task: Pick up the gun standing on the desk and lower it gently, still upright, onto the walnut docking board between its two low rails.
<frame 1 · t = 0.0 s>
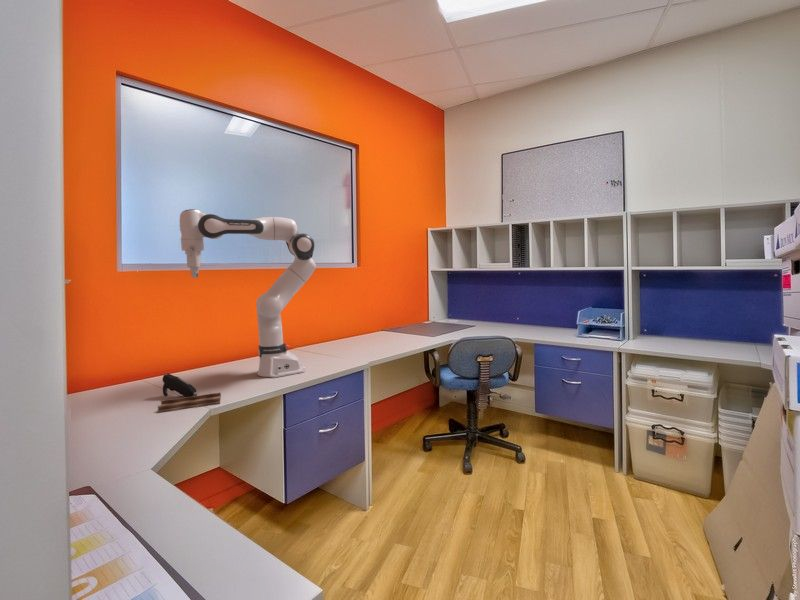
hand: (195, 277, 176), 48 cm above the table, tool pointing down, fingers open, 8 cm apart
walnut stand: (191, 403, 152), on the table
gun: (180, 397, 161), on the table
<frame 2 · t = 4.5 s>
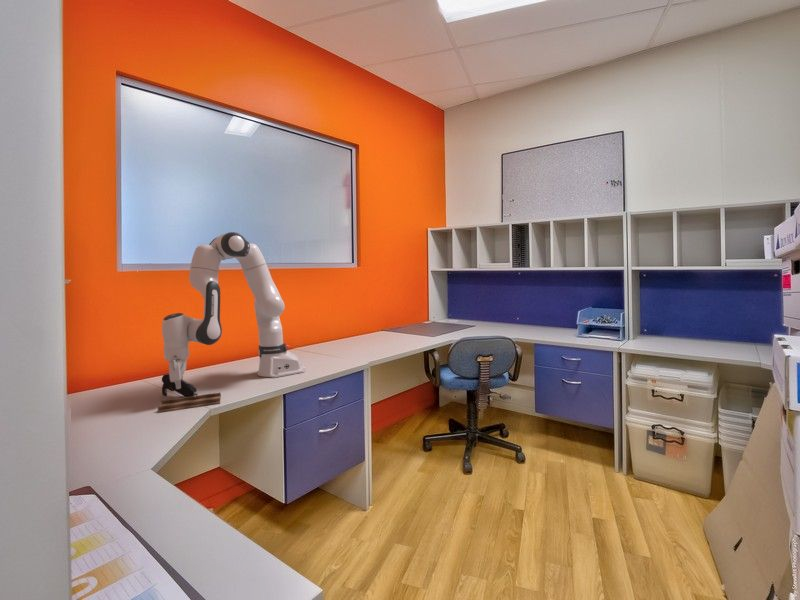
hand: (179, 386, 161), 4 cm above the table, tool pointing down, fingers closed on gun, 4 cm apart
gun: (180, 397, 161), on the table, touching gripper
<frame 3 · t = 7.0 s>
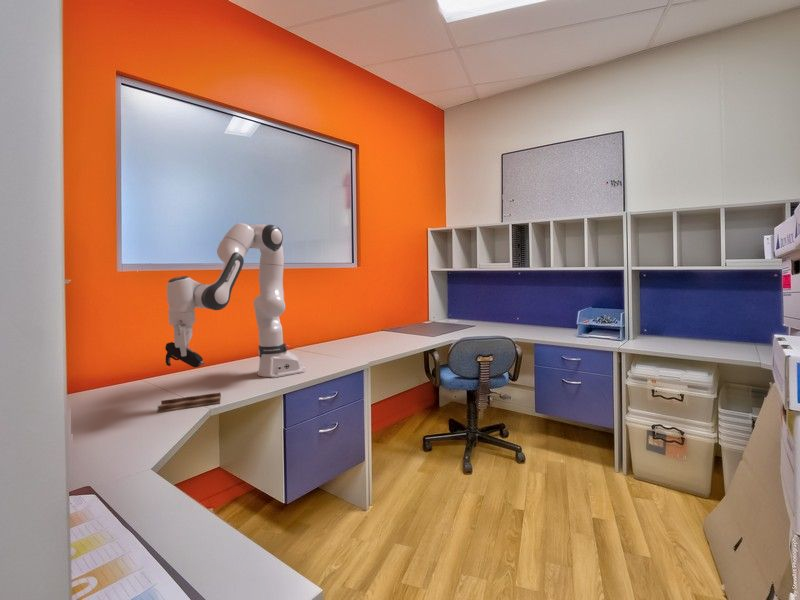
hand: (185, 354, 152), 19 cm above the table, tool pointing down, fingers closed on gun, 4 cm apart
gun: (185, 366, 152), point 14 cm above the table, touching gripper
when the fingers open (6 cm above the table, at t = 9.5 s): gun stays where it is, resting on walnut stand.
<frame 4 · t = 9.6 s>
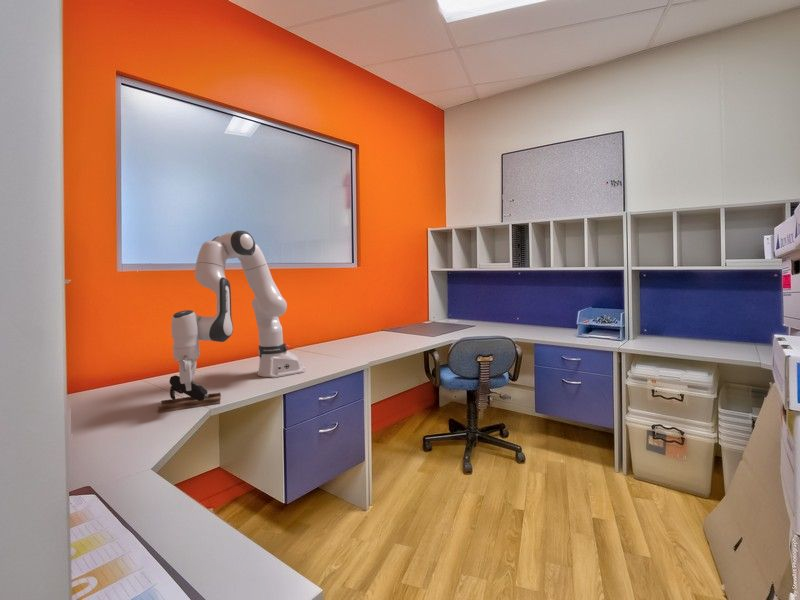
hand: (189, 388, 152), 6 cm above the table, tool pointing down, fingers open, 4 cm apart
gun: (190, 399, 152), point 2 cm above the table, touching gripper, walnut stand
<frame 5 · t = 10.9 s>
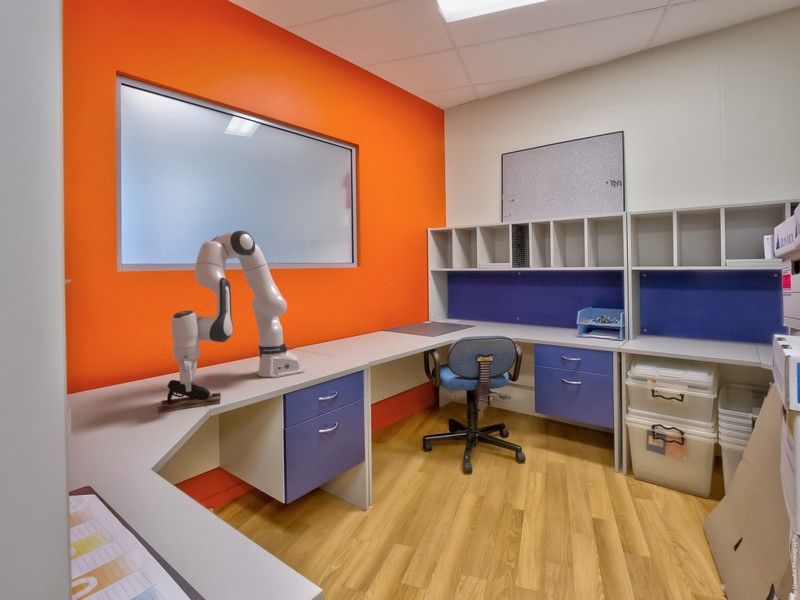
hand: (189, 388, 152), 6 cm above the table, tool pointing down, fingers open, 5 cm apart
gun: (190, 402, 153), resting on walnut stand
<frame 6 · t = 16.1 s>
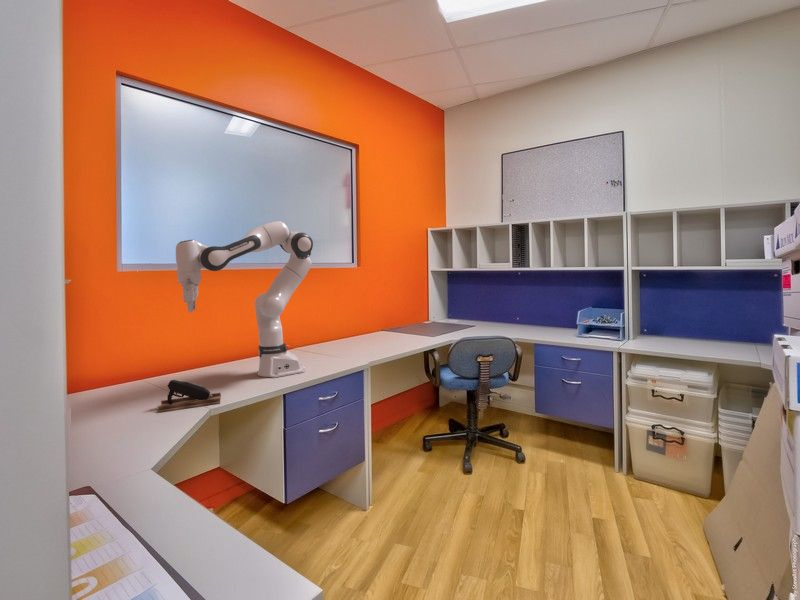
hand: (192, 311, 168), 34 cm above the table, tool pointing down, fingers open, 8 cm apart
nothing on the table moved.
at the end: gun 0.8 cm off-centre on the walnut stand, point 0.4 cm above the walnut stand's base; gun tilted 0° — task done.
